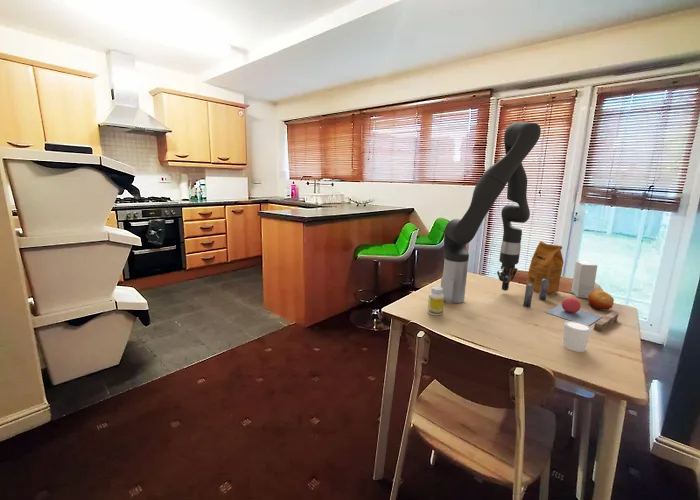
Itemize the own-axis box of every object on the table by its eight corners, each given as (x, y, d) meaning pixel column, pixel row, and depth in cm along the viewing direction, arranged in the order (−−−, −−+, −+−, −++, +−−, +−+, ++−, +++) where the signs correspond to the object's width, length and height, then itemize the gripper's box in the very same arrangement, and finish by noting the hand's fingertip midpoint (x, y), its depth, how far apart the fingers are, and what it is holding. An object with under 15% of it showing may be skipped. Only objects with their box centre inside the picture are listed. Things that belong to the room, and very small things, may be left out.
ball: (557, 301, 123) (563, 316, 122) (574, 297, 118) (581, 313, 118) (561, 297, 127) (567, 311, 126) (578, 294, 122) (585, 309, 122)
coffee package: (539, 284, 154) (546, 240, 149) (561, 293, 143) (570, 245, 138) (522, 286, 152) (528, 240, 147) (543, 295, 140) (551, 246, 135)
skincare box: (592, 299, 137) (599, 265, 134) (576, 297, 139) (582, 264, 135) (585, 292, 145) (591, 261, 141) (569, 291, 146) (575, 259, 143)
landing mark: (587, 326, 111) (587, 326, 111) (544, 312, 122) (545, 311, 122) (602, 317, 119) (602, 316, 119) (561, 304, 130) (561, 304, 130)
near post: (528, 307, 126) (532, 286, 124) (521, 305, 128) (525, 284, 126) (531, 306, 128) (535, 285, 126) (525, 304, 130) (528, 283, 128)
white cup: (555, 341, 100) (558, 320, 99) (575, 341, 101) (579, 320, 99) (571, 353, 94) (575, 331, 92) (593, 352, 94) (598, 330, 93)
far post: (544, 301, 134) (547, 280, 132) (537, 299, 136) (540, 278, 134) (547, 299, 135) (550, 279, 133) (540, 297, 137) (543, 277, 135)
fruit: (600, 299, 132) (610, 287, 127) (609, 315, 127) (620, 303, 121) (579, 298, 133) (588, 286, 128) (587, 314, 128) (598, 302, 122)
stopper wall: (600, 331, 107) (602, 324, 107) (593, 329, 109) (594, 322, 108) (616, 320, 117) (618, 314, 116) (609, 318, 118) (611, 312, 118)
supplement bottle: (445, 315, 118) (447, 290, 116) (431, 316, 117) (433, 290, 115) (438, 309, 123) (440, 285, 121) (425, 310, 122) (427, 285, 120)
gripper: (510, 255, 131) (504, 295, 135) (526, 251, 139) (520, 289, 143) (493, 252, 137) (488, 290, 141) (509, 248, 145) (504, 284, 148)
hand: (504, 289), depth 142 cm, fingers closed
